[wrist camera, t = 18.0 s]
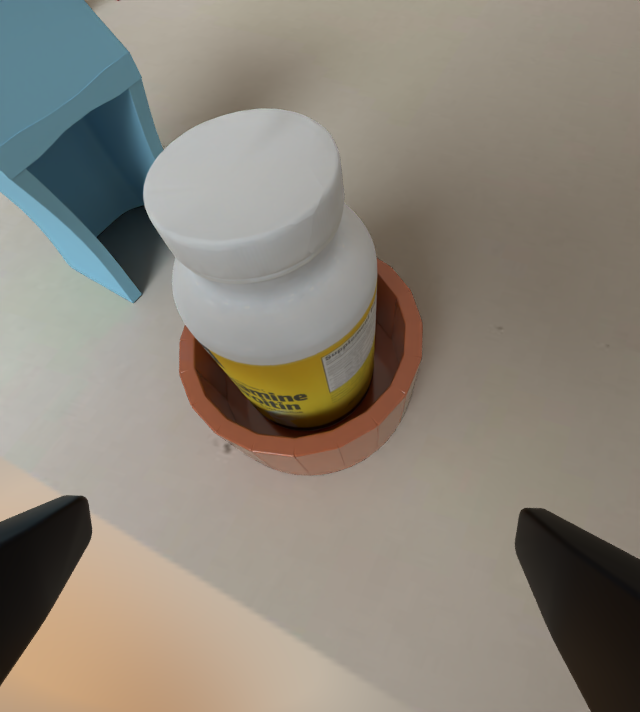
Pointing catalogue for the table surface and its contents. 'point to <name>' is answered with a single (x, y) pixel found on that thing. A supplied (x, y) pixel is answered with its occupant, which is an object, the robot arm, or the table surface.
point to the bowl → (332, 444)
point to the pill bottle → (270, 262)
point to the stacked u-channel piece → (72, 130)
